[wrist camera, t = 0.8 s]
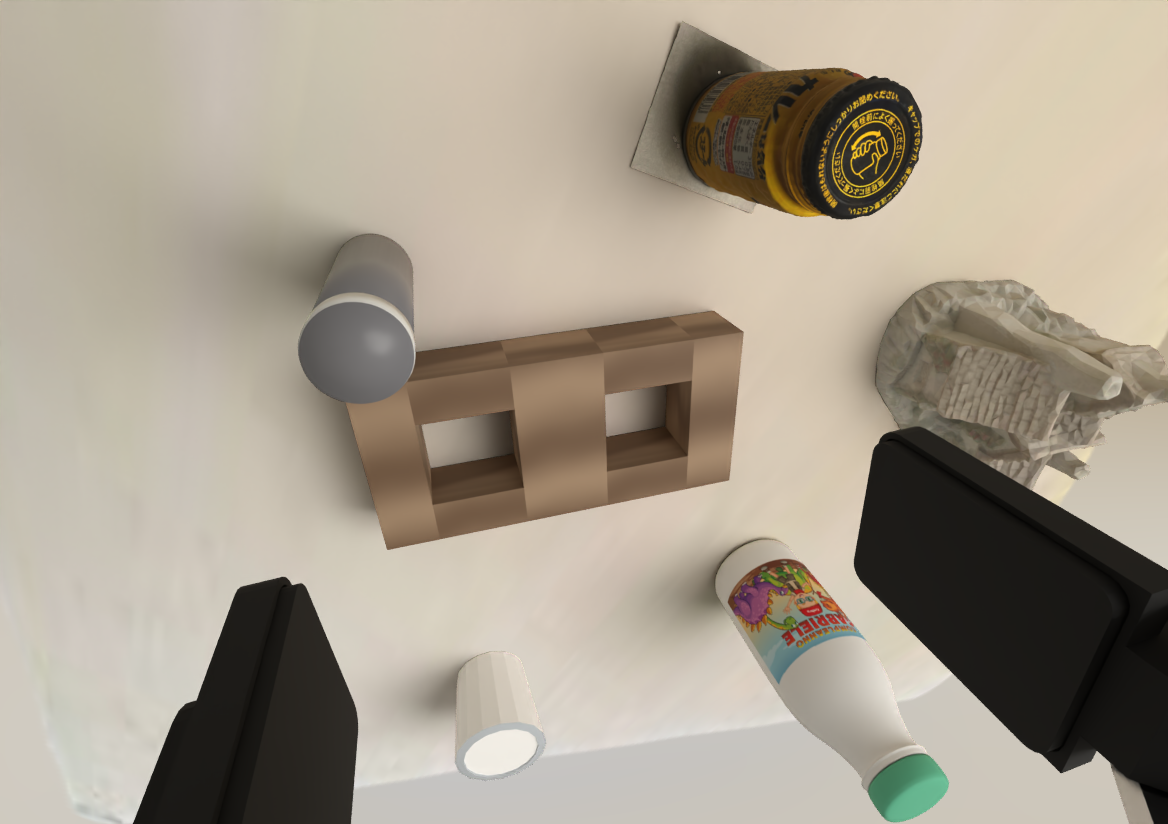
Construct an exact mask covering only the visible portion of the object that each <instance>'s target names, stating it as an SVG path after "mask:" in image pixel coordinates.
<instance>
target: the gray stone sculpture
mask: <svg viewBox="0 0 1168 824" xmlns="http://www.w3.org/2000/svg"><path fill="white" fill-rule="evenodd" d="M876 367H877V371H876V373H877V375H876V387H877V389H878V391H879V393H880V395H881V397H882V398H883V400H884V402H885V403H886V405H887V407H888V409H889V410H890V412H891V414H892V415H893V416H894V420H895V421H896V422H897V423H898V424H899V428H900V429H906V428H910V427H914V426H920V427H923V428H925V429H927V430H929V431H931V432H932V433H934V434H936V435H938V436H939V437H941V438H943V439H944V440H946V441H948V442H950V443H951V444H953V445H955V446H956V447H958V448H960V449H962V450H963V451H965V452H967V453H968V454H970V455H972V456H973V457H975V458H977V459H979V460H980V461H982V462H984V463H985V464H987V465H989V466H991V467H992V468H994V469H996V470H997V471H999V472H1001V473H1003V474H1004V475H1006V476H1008V477H1009V478H1011V479H1013V480H1015V481H1016V482H1018V483H1020V484H1021V485H1023V486H1025V487H1027V488H1028V489H1030V490H1032V489H1033V487H1034V485H1035V483H1036V481H1037V479H1038V477H1039V475H1040V474H1041V472H1042V470H1043V468H1044V466H1045V465H1048V466H1050V467H1052V468H1055V469H1057V470H1059V471H1061V472H1063V473H1065V474H1067V475H1069V476H1070V477H1071V478H1073V479H1077V480H1081V479H1083V478H1085V477H1086V476H1088V475H1089V472H1090V466H1089V465H1087V464H1085V463H1084V462H1082V461H1080V460H1079V459H1078V458H1077V457H1076V456H1075V455H1074V454H1072V453H1071V452H1069V450H1071V449H1078V448H1084V449H1085V448H1087V447H1093V446H1098V445H1102V444H1106V443H1107V441H1106V438H1105V436H1104V435H1103V434H1102V433H1101V432H1100V429H1101V426H1102V423H1103V421H1104V418H1105V419H1110V418H1111V417H1113V416H1114V415H1117V414H1120V413H1124V412H1128V411H1136V410H1138V409H1140V408H1141V407H1143V406H1148V405H1155V404H1159V403H1165V402H1168V368H1167V366H1166V364H1165V362H1164V359H1163V356H1162V355H1161V354H1160V353H1159V351H1158V350H1156V349H1154V348H1153V347H1151V346H1150V345H1137V346H1129V345H1127V344H1123V343H1120V342H1116V341H1113V340H1109V339H1106V338H1102V337H1100V336H1099V335H1098V334H1097V332H1096V330H1095V329H1089V328H1087V327H1085V326H1084V325H1083V324H1081V323H1077V322H1075V321H1074V318H1072V317H1070V316H1068V315H1066V314H1064V313H1060V314H1059V313H1056V312H1053V311H1051V310H1049V306H1048V305H1047V304H1046V303H1045V302H1044V301H1043V300H1041V298H1040V297H1039V296H1038V295H1036V294H1035V292H1034V290H1033V289H1031V288H1029V287H1027V286H1024V285H1022V284H1020V283H1018V282H1016V281H1013V280H1006V281H992V282H989V281H984V282H977V281H966V282H938V283H934V284H931V285H929V286H927V287H925V288H923V289H922V290H920V291H918V292H916V293H915V294H913V295H912V296H911V297H910V298H909V299H908V300H907V301H906V302H905V303H904V304H903V305H902V306H901V307H900V308H899V309H898V311H897V312H896V314H895V315H894V316H893V317H892V318H891V319H890V322H889V324H888V327H887V329H886V331H885V334H884V336H883V339H882V341H881V345H880V350H879V354H878V359H877V365H876Z"/></svg>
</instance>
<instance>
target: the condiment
mask: <svg viewBox="0 0 1168 824" xmlns="http://www.w3.org/2000/svg"><path fill="white" fill-rule="evenodd" d="M718 71H721V72H720V74H718ZM921 118H922V115H921V112H920V110H919V108H918V105H917V103H916V102H915V100H914V98H913V96H912V94H911V92H910V91H909V90H908V89H907V88H905V87H904V86H901V85H899V84H898V83H896V82H895V81H890V80H889V79H888V78H878V77H877V76H872V77H870V78H869V79H866V78H864V77H862V76H861V75H859V74H857V73H853V72H851V71H849V70H847V69H842V68H826V69H809V70H807V69H804V70H791V71H788V70H787V71H778V70H776V69H774V68H772V67H770V66H768V65H766V64H764V63H762V62H761V61H758V60H756V59H754V58H753V57H751V56H749V55H747V54H745V53H743V52H742V51H740V50H738V49H736V48H734V47H732V46H730V45H728V44H726V43H724V42H722V41H720V40H718V39H716V38H714V37H712V36H710V35H708V34H706V33H705V32H703V31H701V30H699V29H697V28H695V27H693V26H691V25H689V24H687V23H685V22H683V21H682V23H681V26H680V28H679V31H678V34H677V37H676V40H675V41H674V44H673V47H672V50H671V52H670V55H669V58H668V61H667V63H666V66H665V70H664V72H663V74H662V77H661V80H660V83H659V86H658V88H657V91H656V94H655V97H654V100H653V103H652V106H651V108H650V110H649V114H648V117H647V121H646V124H645V127H644V130H643V132H642V135H641V137H640V140H639V143H638V147H637V150H636V153H635V156H634V159H633V162H632V164H631V168H634V169H636V170H639V171H642V172H644V173H647V174H649V175H652V176H655V177H657V178H660V179H663V180H665V181H668V182H671V183H673V184H676V185H678V186H681V187H683V188H686V189H689V190H691V191H694V192H696V193H699V194H702V195H704V196H707V197H710V198H712V199H715V200H717V201H720V202H723V203H725V204H728V205H730V206H733V207H736V208H738V209H741V210H744V211H746V212H749V213H751V214H752V212H753V209H754V207H755V205H756V203H758V204H762V205H765V206H768V207H771V208H774V209H777V210H779V211H782V212H785V213H789V214H793V215H795V216H800V217H812V216H819V215H823V216H831V217H832V218H835V219H853V218H857V217H861V216H869V215H871V214H873V213H875V212H877V211H878V210H880V209H881V208H883V207H884V206H885V205H886V204H887V203H889V202H890V201H891V200H892V199H893V198H894V197H895V196H896V195H897V194H898V193H899V192H900V190H901V189H902V187H903V186H904V185H905V183H906V181H907V179H908V178H909V176H910V174H911V173H912V171H913V168H914V166H915V164H916V163H917V162H918V160H919V157H918V155H919V151H920V148H921V144H922V137H923V136H922V122H921ZM673 136H675V137H676V139H677V142H674V140H673ZM677 143H679V144H680V148H679V149H678V148H677Z"/></svg>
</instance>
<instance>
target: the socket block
mask: <svg viewBox="0 0 1168 824" xmlns="http://www.w3.org/2000/svg"><path fill="white" fill-rule="evenodd" d="M743 333H744V332H743V331H741V330H740V329H739V328H737V327H736V326H734V325H733V324H732V323H730V322H729V321H727V320H726V319H725V318H723V317H722V316H720V315H719V314H718V313H716V312H715V311H710V312H703V313H695V314H688V315H681V316H674V317H667V318H659V319H652V320H645V321H638V322H631V323H623V324H616V325H609V326H602V327H595V328H588V329H580V330H573V331H566V332H559V333H552V334H544V335H537V336H530V337H523V338H516V339H508V340H501V341H494V342H487V343H480V344H472V345H465V346H458V347H451V348H444V349H436V350H429V351H422V352H415V364H414V368H413V371H412V373H411V375H410V377H409V379H408V380H407V382H406V383H405V384H404V385H403V387H402V388H401V389H400V390H398V391H397V392H396V393H395V394H393V395H391V396H390V397H388V398H386V399H384V400H381V401H378V402H373V403H367V404H354V403H347V402H346V406H347V409H348V413H349V416H350V420H351V423H352V427H353V431H354V434H355V438H356V441H357V445H358V448H359V452H360V455H361V459H362V462H363V466H364V469H365V473H366V477H367V480H368V484H369V487H370V491H371V494H372V498H373V501H374V505H375V508H376V512H377V515H378V519H379V523H380V526H381V530H382V533H383V537H384V540H385V544H386V547H387V550H390V549H394V548H399V547H404V546H409V545H414V544H419V543H424V542H429V541H434V540H439V539H443V538H448V537H453V536H458V535H463V534H468V533H473V532H478V531H483V530H488V529H492V528H497V527H502V526H507V525H512V524H517V523H522V522H527V521H532V520H537V519H541V518H546V517H551V516H556V515H561V514H566V513H571V512H576V511H581V510H586V509H590V508H595V507H600V506H605V505H610V504H615V503H620V502H625V501H630V500H635V499H639V498H644V497H649V496H654V495H659V494H664V493H669V492H674V491H679V490H684V489H688V488H693V487H698V486H703V485H708V484H713V483H718V482H723V481H728V480H729V476H730V466H731V455H732V445H733V435H734V425H735V415H736V405H737V394H738V384H739V374H740V364H741V354H742V344H743ZM661 385H667V391H666V424H665V427H661V428H655V429H649V430H644V431H638V432H633V433H627V434H622V435H616V436H610V437H606V422H605V395H606V394H612V393H618V392H624V391H630V390H637V389H643V388H649V387H655V386H661ZM508 410H509V416H510V424H511V432H512V440H513V448H514V454H510V455H505V456H499V457H493V458H488V459H482V460H477V461H471V462H466V463H460V464H454V465H449V466H443V467H438V468H432V469H431V468H430V464H429V459H428V454H427V450H426V445H425V440H424V436H423V431H422V426H421V425H423V424H429V423H435V422H441V421H447V420H453V419H460V418H466V417H472V416H478V415H484V414H490V413H496V412H502V411H508Z"/></svg>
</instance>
